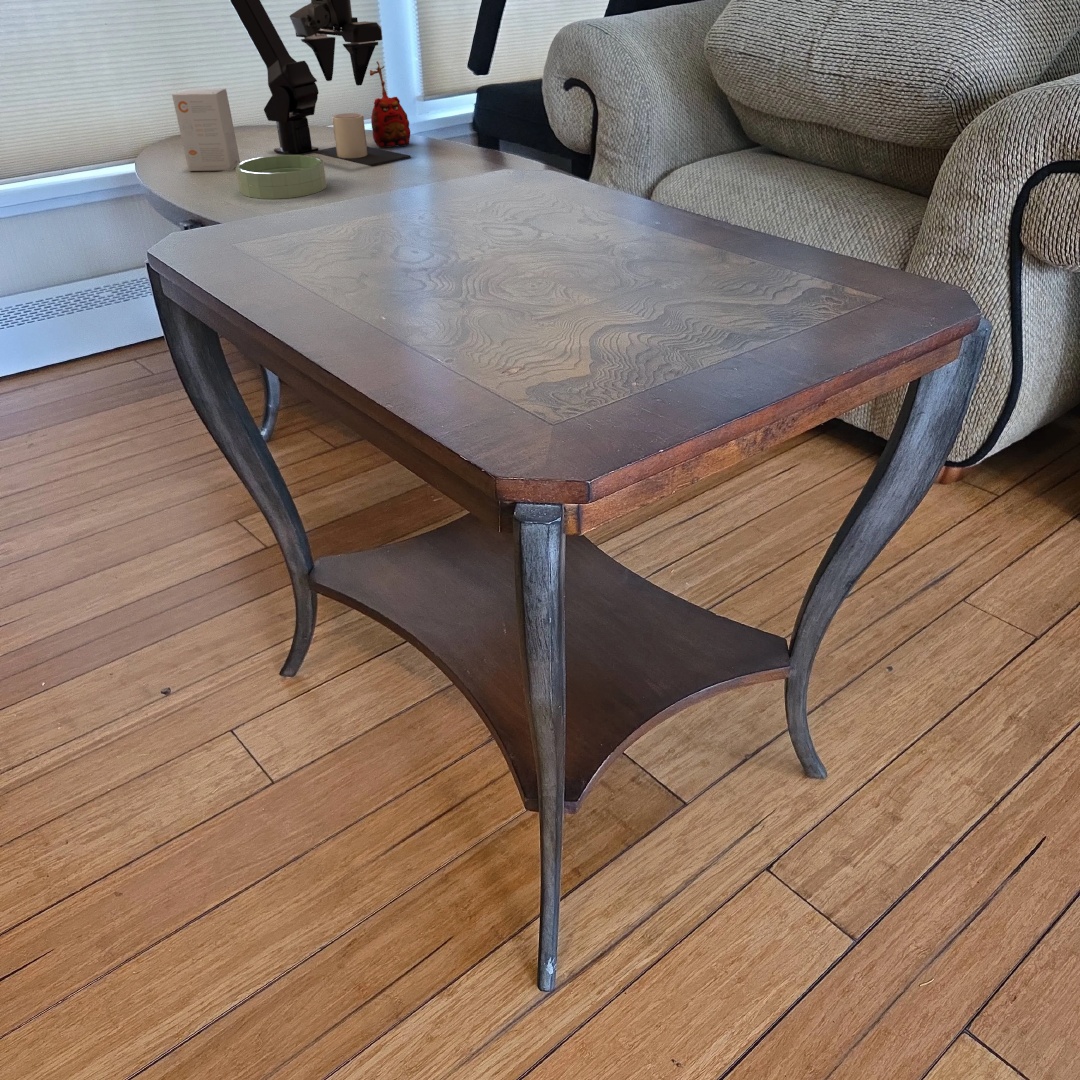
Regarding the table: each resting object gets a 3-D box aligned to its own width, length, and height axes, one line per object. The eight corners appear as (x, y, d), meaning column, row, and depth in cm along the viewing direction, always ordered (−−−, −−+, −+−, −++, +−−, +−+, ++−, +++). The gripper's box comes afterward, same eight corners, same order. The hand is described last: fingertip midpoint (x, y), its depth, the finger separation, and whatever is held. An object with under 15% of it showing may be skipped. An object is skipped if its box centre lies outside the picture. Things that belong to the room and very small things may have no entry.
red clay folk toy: (380, 150, 185) (372, 66, 176) (367, 144, 190) (358, 62, 182) (416, 146, 188) (409, 62, 180) (402, 140, 193) (395, 59, 185)
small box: (241, 163, 177) (227, 87, 170) (231, 171, 172) (216, 93, 165) (198, 164, 177) (182, 88, 170) (187, 171, 172) (171, 94, 165)
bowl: (224, 193, 158) (219, 165, 156) (295, 178, 167) (291, 151, 164) (271, 207, 150) (266, 178, 147) (343, 190, 158) (340, 162, 156)
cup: (330, 155, 180) (325, 115, 176) (355, 150, 183) (350, 111, 179) (349, 159, 176) (344, 119, 173) (373, 154, 180) (369, 115, 176)
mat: (295, 157, 181) (294, 154, 181) (353, 145, 189) (353, 143, 189) (351, 170, 171) (351, 168, 170) (410, 157, 179) (410, 155, 179)
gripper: (262, -15, 165) (278, 83, 173) (325, -11, 154) (338, 93, 163) (315, -18, 171) (327, 76, 180) (379, -15, 161) (388, 85, 169)
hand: (343, 83), depth 173 cm, fingers open, 9 cm apart
